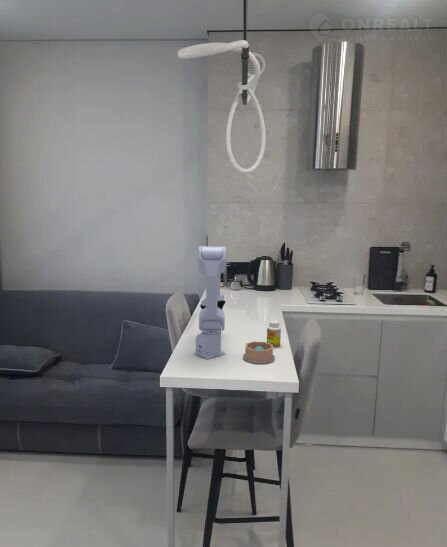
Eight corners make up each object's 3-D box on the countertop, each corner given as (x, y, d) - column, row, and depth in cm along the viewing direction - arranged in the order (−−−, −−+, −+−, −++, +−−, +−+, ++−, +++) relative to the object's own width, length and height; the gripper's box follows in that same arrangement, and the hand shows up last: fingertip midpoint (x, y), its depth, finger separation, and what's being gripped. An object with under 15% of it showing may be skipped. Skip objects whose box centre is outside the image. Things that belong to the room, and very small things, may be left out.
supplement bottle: (263, 345, 189) (264, 321, 187) (273, 342, 192) (274, 319, 190) (272, 349, 184) (273, 324, 183) (282, 346, 188) (284, 322, 186)
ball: (258, 359, 171) (258, 349, 170) (251, 356, 174) (251, 346, 173) (266, 356, 173) (266, 346, 172) (259, 353, 176) (258, 343, 175)
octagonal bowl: (258, 366, 165) (258, 353, 164) (236, 357, 174) (236, 344, 173) (281, 359, 173) (281, 347, 172) (259, 351, 182) (259, 338, 181)
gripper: (212, 291, 181) (211, 324, 184) (230, 285, 194) (229, 316, 196) (197, 289, 185) (197, 322, 187) (216, 283, 197) (215, 314, 199)
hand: (212, 319), depth 192 cm, fingers open, 7 cm apart
